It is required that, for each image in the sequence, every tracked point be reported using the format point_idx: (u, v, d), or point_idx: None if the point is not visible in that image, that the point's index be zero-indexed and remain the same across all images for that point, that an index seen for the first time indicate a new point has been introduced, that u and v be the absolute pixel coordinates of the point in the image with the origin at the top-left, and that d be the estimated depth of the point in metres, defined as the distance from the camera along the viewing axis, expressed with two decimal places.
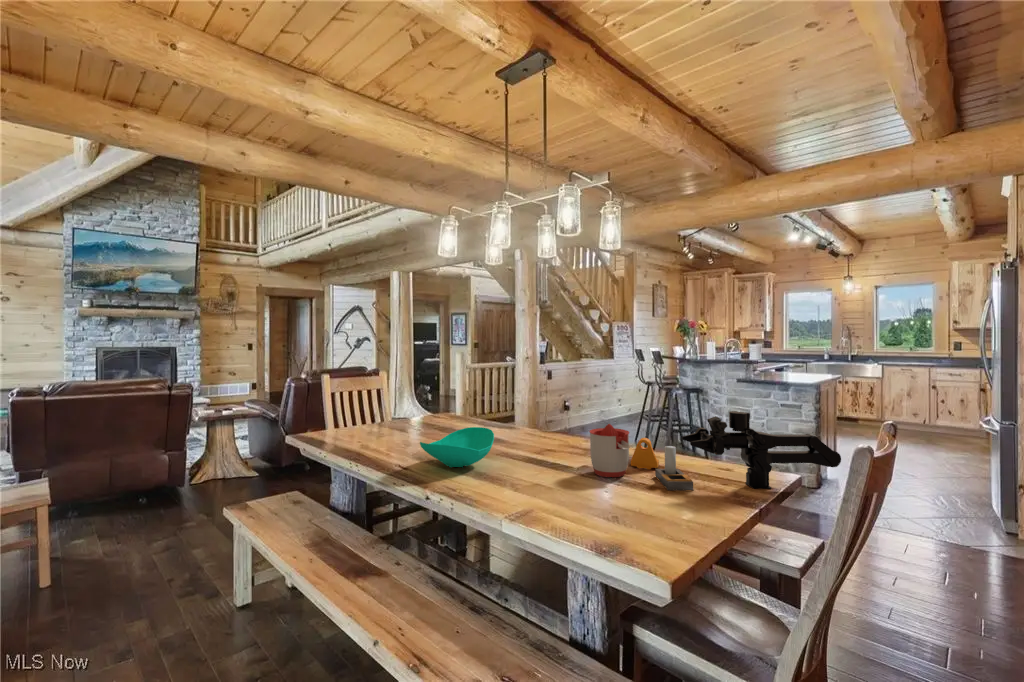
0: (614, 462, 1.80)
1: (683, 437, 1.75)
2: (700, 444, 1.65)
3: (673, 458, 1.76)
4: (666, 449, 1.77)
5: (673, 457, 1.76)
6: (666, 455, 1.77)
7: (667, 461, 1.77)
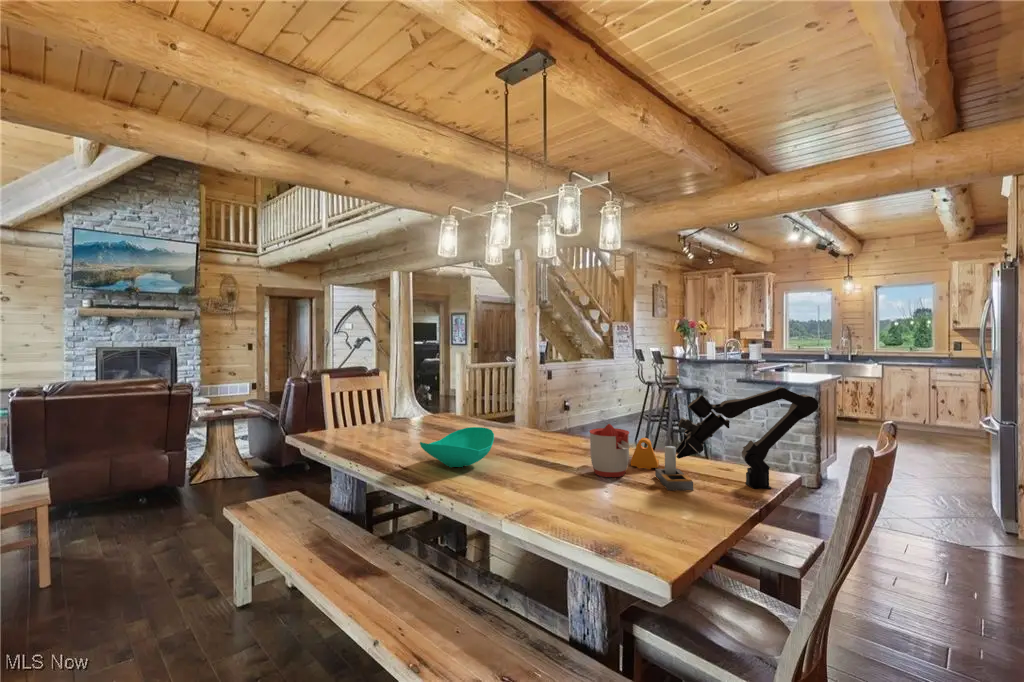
0: (614, 462, 1.80)
1: (677, 450, 1.82)
2: (684, 453, 1.72)
3: (673, 458, 1.76)
4: (666, 449, 1.77)
5: (673, 457, 1.76)
6: (666, 455, 1.77)
7: (667, 461, 1.77)
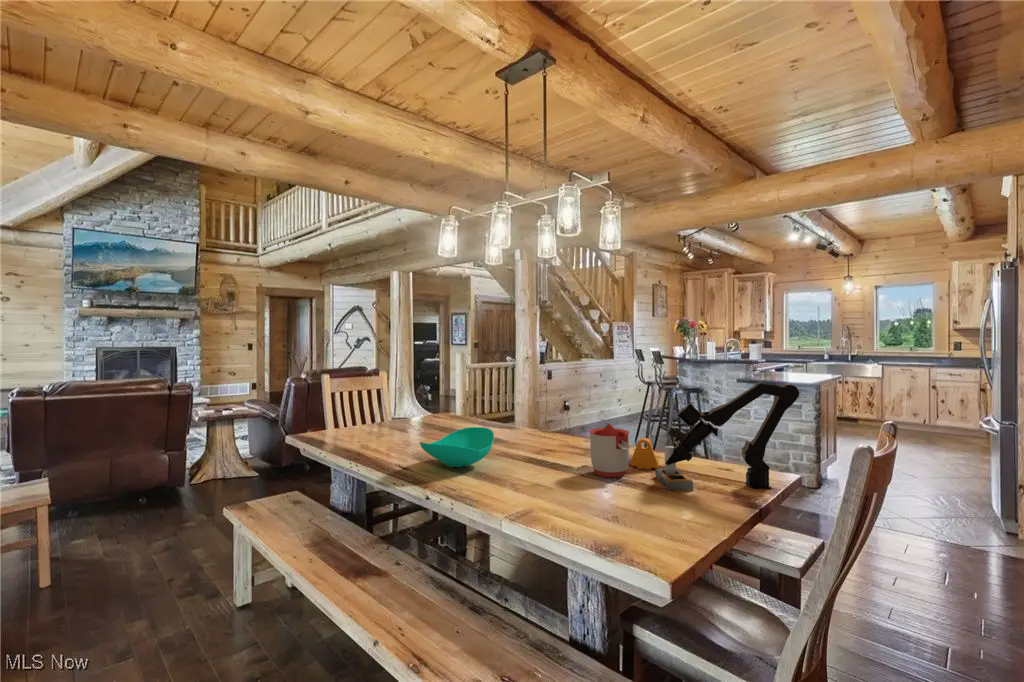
0: (614, 462, 1.80)
1: None
2: (673, 459, 1.75)
3: None
4: (666, 449, 1.77)
5: None
6: (666, 455, 1.77)
7: None
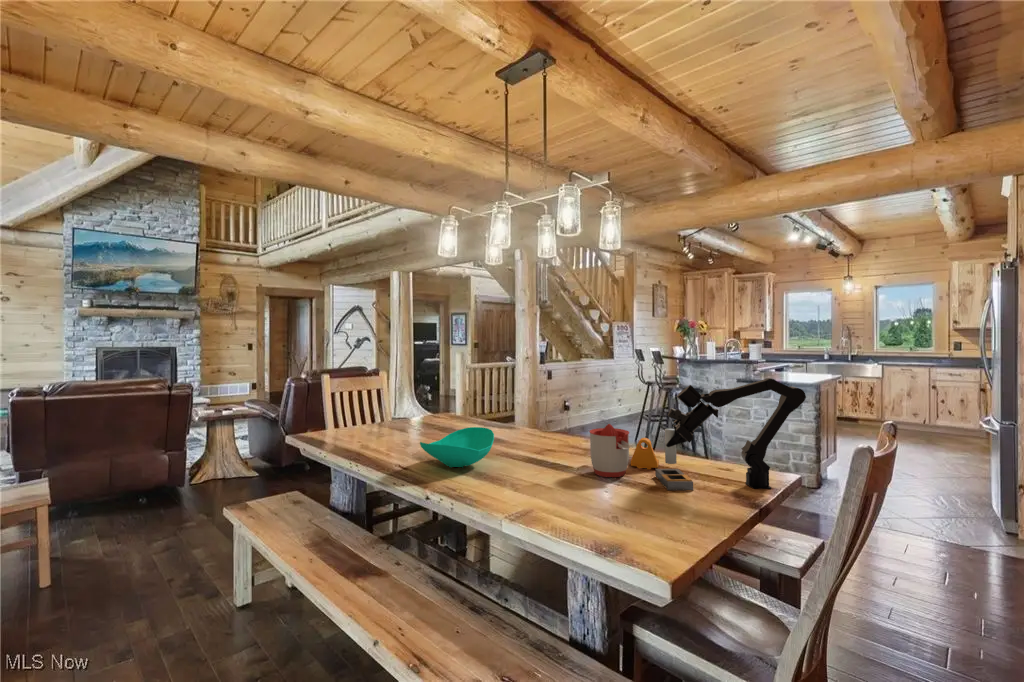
0: (614, 462, 1.80)
1: None
2: (673, 441, 1.74)
3: None
4: (666, 431, 1.76)
5: None
6: (666, 437, 1.76)
7: None
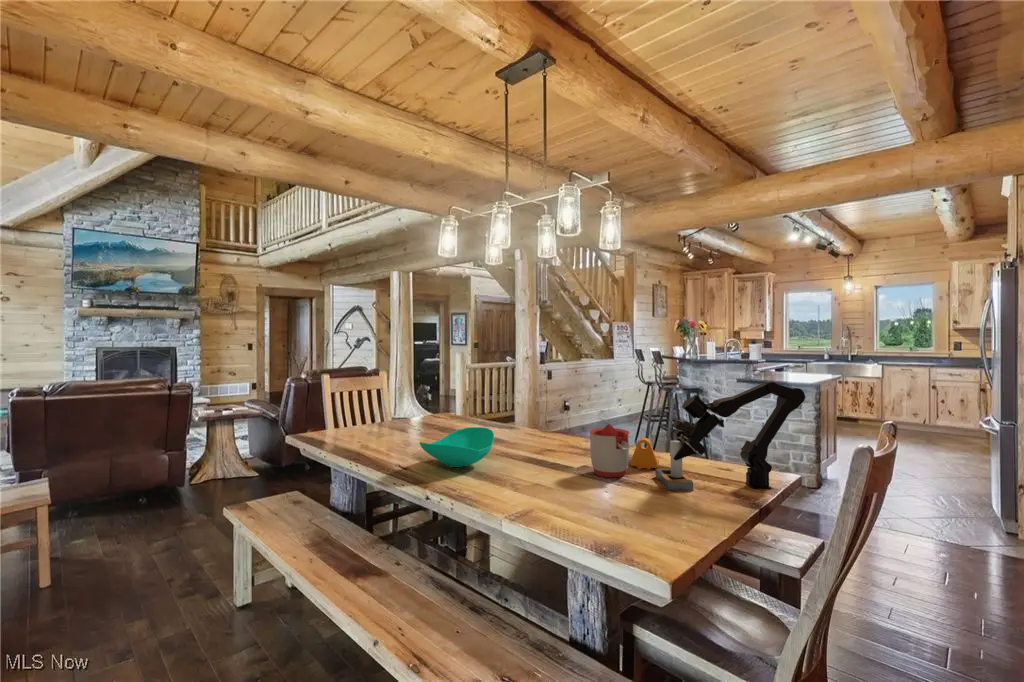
0: (614, 462, 1.80)
1: None
2: (681, 454, 1.68)
3: None
4: (673, 444, 1.69)
5: None
6: (673, 450, 1.69)
7: None
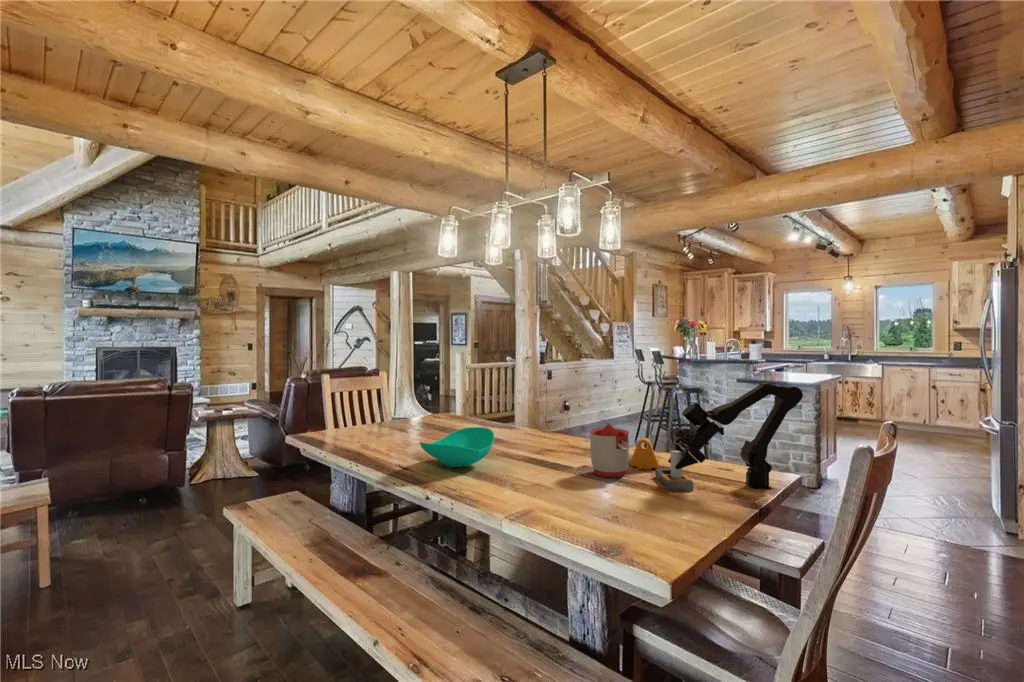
0: (614, 462, 1.80)
1: (669, 461, 1.75)
2: (683, 463, 1.66)
3: None
4: (673, 454, 1.69)
5: None
6: (673, 460, 1.69)
7: None
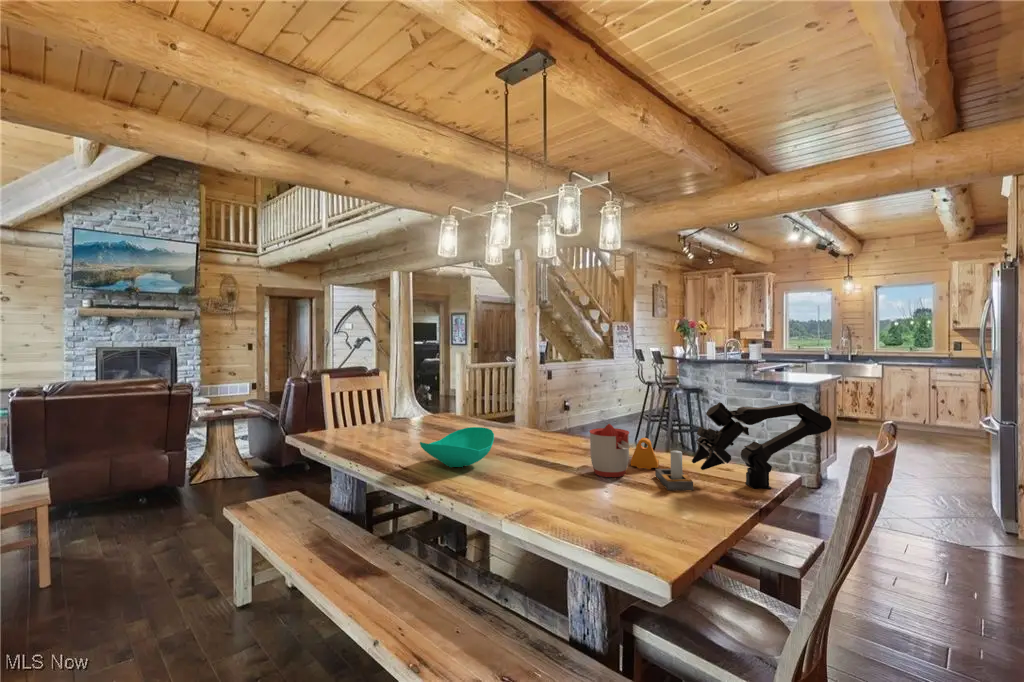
0: (614, 462, 1.80)
1: (693, 461, 1.75)
2: (709, 463, 1.65)
3: (681, 463, 1.69)
4: (673, 454, 1.69)
5: (681, 462, 1.69)
6: (673, 460, 1.69)
7: (675, 467, 1.69)
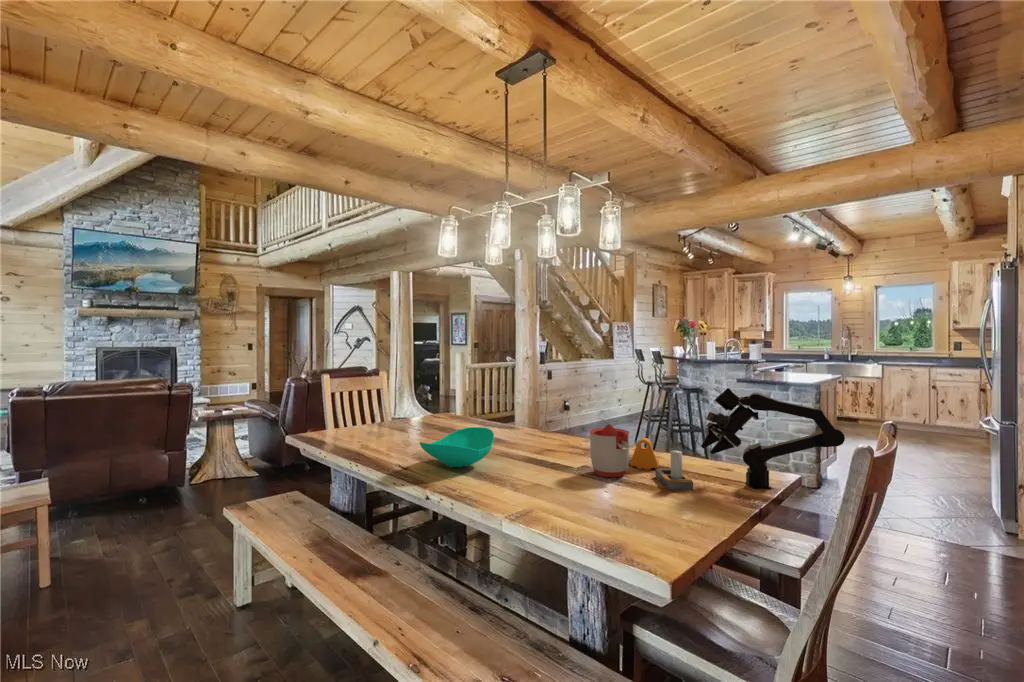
0: (614, 462, 1.80)
1: (702, 446, 1.77)
2: (719, 448, 1.67)
3: (681, 463, 1.69)
4: (673, 454, 1.69)
5: (680, 462, 1.69)
6: (673, 460, 1.69)
7: (675, 467, 1.69)
